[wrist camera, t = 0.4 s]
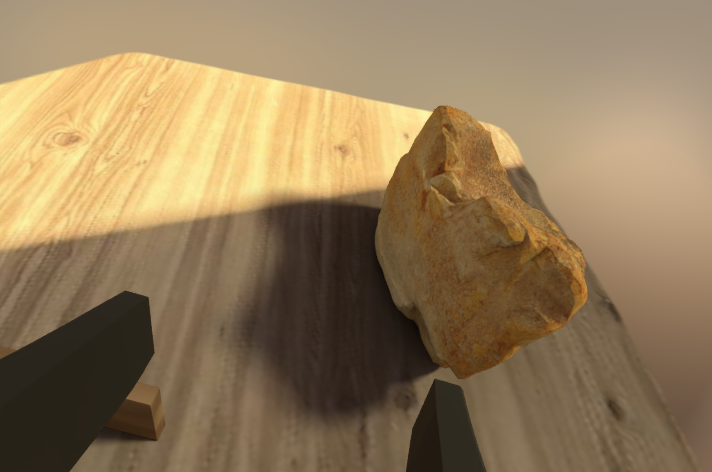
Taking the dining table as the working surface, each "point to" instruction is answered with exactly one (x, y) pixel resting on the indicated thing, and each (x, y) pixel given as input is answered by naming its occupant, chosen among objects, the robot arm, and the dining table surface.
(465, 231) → the rough brown rock
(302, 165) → the dining table surface
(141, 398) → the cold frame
